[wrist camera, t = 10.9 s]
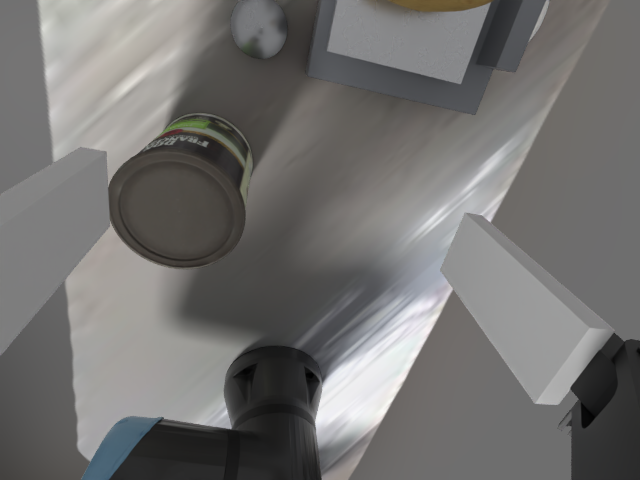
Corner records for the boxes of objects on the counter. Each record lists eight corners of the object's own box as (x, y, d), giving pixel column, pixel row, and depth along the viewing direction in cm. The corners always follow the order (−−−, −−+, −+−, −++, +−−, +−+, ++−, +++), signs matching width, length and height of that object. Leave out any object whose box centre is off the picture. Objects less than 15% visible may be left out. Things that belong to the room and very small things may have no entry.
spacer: (281, 62, 37) (282, 64, 34) (230, 50, 36) (227, 51, 33) (290, 4, 35) (292, 2, 32) (236, -10, 34) (233, -14, 31)
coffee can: (139, 125, 38) (78, 168, 26) (236, 102, 38) (219, 133, 26) (179, 212, 43) (143, 282, 31) (264, 192, 43) (261, 254, 31)
